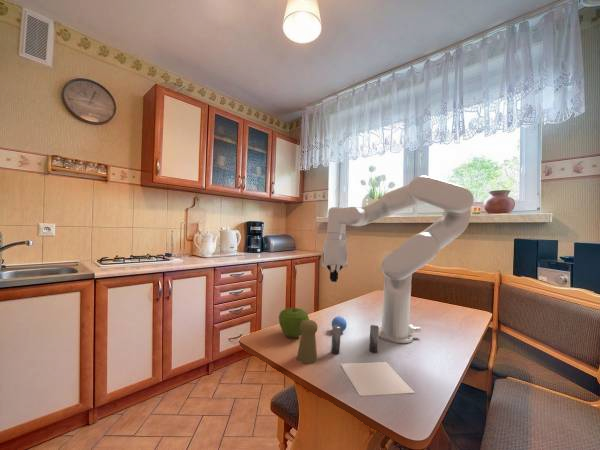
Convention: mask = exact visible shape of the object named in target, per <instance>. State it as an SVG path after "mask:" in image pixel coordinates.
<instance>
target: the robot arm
mask: <svg viewBox="0 0 600 450" xmlns="http://www.w3.org/2000/svg"><path fill="white" fill-rule="evenodd" d="M474 201H475V198H474V195H473V193H472V191H471V190H469V188H466V187H464V186H461V185H458V184H455V183H453V182H450V181H449V182H448V181H445V180H442V179H438V178H435V177H432V176H427V175H419V176H416V177H414V178H413V179H412V180H411V181H410V182H409V184H408V183H407V184H406V185H403V186H401V187H397V188H396V189H393V190H391V191H388V192H386V193H384V194H383V195H382V196H381V197H380V198H379V199H378V200H376V201H374V202H373V203H370V204H368V205H366V206H362V207H357V206H350V207H341V206H340V207H339V206H333V207H330V208H329V209H328V212H327V227H326V228H327V230H326V239H324V241H323V246H322V253H321V262H322V263H321V266H322V267H323V268H325V269H328V271H329V279H330V281H331V282H332V283H337V280H338V279H339V273H340V272H341V270H342V269H345V268H347V267H348V262H349V261H348V260H349V259H348V258H349V257H348V256H349V255H348V253H349V252H348V244H347V242H348V241H346V240H347V239H349V235H348V234H347V233H346V230H347V227H346V226H352V227H362V226H366V225H368V224H371V223H374V222H378V221H379V220H383V219H384V218H387V217H390V216H393V215H395V214H397V213H400V212H401V213H402V212H403V211H405V210H409V209H412V208H414V207H417V206H420V205H423V204H427V205H431V206H434V207H436V208H439V209H442V210H443V214H442V215H441V216H440V218H438V219H437V220H436V221H434V222H433V223H432V224H431V225H429V226H428V227H426V228H425V229H424V230H422V231H421V232H419V233H416V234H414V235H412V236H411V237H410V238H408V239H407V240H406V241H404V242H403V243H401V244H400V245H399V246H397V247H396V248H394V249H393V250H392V251H391V252H389V253H388V254H386V256H384V257H383V259H382V261H381V266H380V269H381V272H382V273H383V275H384V278H383V292H382V311H381V327H379V333H378V337H379V338H381V339H382V340H385V341H387V342H392V343H397V344H409V343H411V342H413V341H414V336H413V334H414V333H421V332H422V328H421V326H414V325H413V324H410V310H411V295H412V294H411V293H412V281H413V280H412V278H413V274H414V273H416V272H417V271H418V270H420V269H421V268H423V267H424V266H425V265H427V264H428V263H430V262H431V261H433V260H434V259H435V258H436V256H437V255H438V253H439V252H440V251H441V250H443V249H444V248H445V247H446V246H448V245H449V244H450V243H452V242H453V241H454V240H456V239H457V238H458V237H459V236H460V235H462V234H463V233H464V232H465V231H466V229H468V227H469V226H468V225H469V224H470V221H471V216H472V214H471V208H472V207H473V205H474ZM334 265H335V267H334Z"/></svg>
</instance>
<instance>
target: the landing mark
mask: <svg viewBox="0 0 600 450" xmlns="http://www.w3.org/2000/svg"><path fill="white" fill-rule="evenodd" d="M340 366H341V367H342V369H343V371H344V372H345V374H346V376H347V378H348V380H349V381H350V382H351V384H352V386H353V388H354V389H355V391H356V393H357V394H358V396H359V397H371V396H389V395H391V396H392V395H405V394H406V395H407V394H415V391H414V390H413V389H412V388H411V387H410V385H408V384H407V383H406V382H405V380H403V379H402V378H401V376H400V375H398V373H397V372H396V371H395V370H394V369H393V367H391V365H389V364H388V363H387V362H386V361H384V362H383V361H380V362H378V361H377V362H360V363H359V362H357V363H356V362H355V363H353V362H352V363H350V362H349V363H340Z"/></svg>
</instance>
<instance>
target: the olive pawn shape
mask: <svg viewBox="0 0 600 450" xmlns="http://www.w3.org/2000/svg"><path fill="white" fill-rule="evenodd" d="M300 330H301V332H302V333H301V335H300V338H299V339H300V340H299V345H298V349H297V355H296V359H297V361H298V362H300V363H302V364H304V365H305V364H306V365H310V364H315V363H317V361H318V353H317V352H318V351H317V339H316V333H317V331H318V324H317V322H316V321H314V320H312V319H309V320H304V321H302V322H301V324H300Z"/></svg>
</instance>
